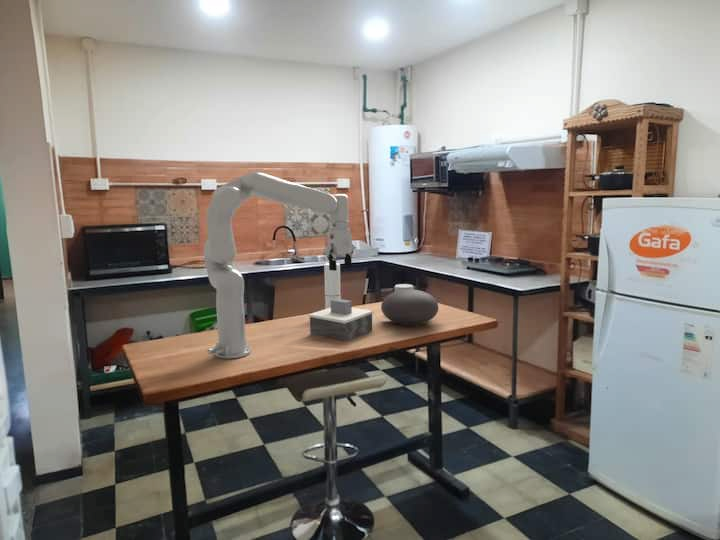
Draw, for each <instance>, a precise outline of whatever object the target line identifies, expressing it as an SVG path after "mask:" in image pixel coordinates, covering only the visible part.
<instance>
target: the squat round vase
mask: <svg viewBox="0 0 720 540" xmlns="http://www.w3.org/2000/svg"><path fill="white" fill-rule="evenodd" d="M380 308H381V312H382V314H383V316H384V317H386V319H388V320H389V321H391V322H393V323H395V324H399V325H403V326H416V325H417V326H418V325H422V324H424V323H425V324H426V323H427V322H429V321H431V320H433V319H434V318H435V317H436V316H437V314H438V311H439V303H438V301H437V299H435V297H434V296H432V295H431V294H430V293H428V292H426V291H424V290H419V289H415V288H413V289H404V290H399V291H395V290H394V291H393V292H391V293H390V294H388V295H386V296H385V297H384V299H383V300H382V302H381V305H380Z"/></svg>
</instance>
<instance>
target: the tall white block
mask: <svg viewBox="0 0 720 540" xmlns="http://www.w3.org/2000/svg"><path fill="white" fill-rule="evenodd" d="M336 268H337V270H336V271H333V270H329V262H327V263H324V264H323V269H324V271H323V272H324V276H323V277H324V303H325V304H324V305H325V308H324V309H327V308H331V301H330V300H333V299H342V298H341V295H342V294H341V264H340V262H339V263H338V262H336Z"/></svg>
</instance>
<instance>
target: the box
mask: <svg viewBox="0 0 720 540" xmlns="http://www.w3.org/2000/svg"><path fill="white" fill-rule="evenodd" d="M309 329H310V330H309V332H310V335H313V336H316V337H317V336H318V337H323V338H326V339H327V338H328V339H332V340H336V341H341V342H348V341H350V340H352V339H355V338H357V337H359V336H360V337H361V336H362V335H364V334H368V333H369V332H372V331H373V314H370V315H367V316H364V317H362V318H359V319H356V320H353V321H351V322H348V323H340V322H334V321H329V320H324V319H318V318H313V317H309Z"/></svg>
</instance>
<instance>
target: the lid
mask: <svg viewBox="0 0 720 540" xmlns="http://www.w3.org/2000/svg"><path fill="white" fill-rule="evenodd" d="M330 301H331V308H327V309H325V308H324V309H321V310H318V311H315V312H312V313H309V314H308V317H309V318H310V317H313V318H318V319H324V320H329V321H334V322H340V323H348V322H351V321H353V320H356V319H359V318H362V317H364V316H367V315H370V314H372V315H373V314H374V310H370V309H362V308H358V307H352V300H347V299H342V298H341V299H333V300H330Z"/></svg>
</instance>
